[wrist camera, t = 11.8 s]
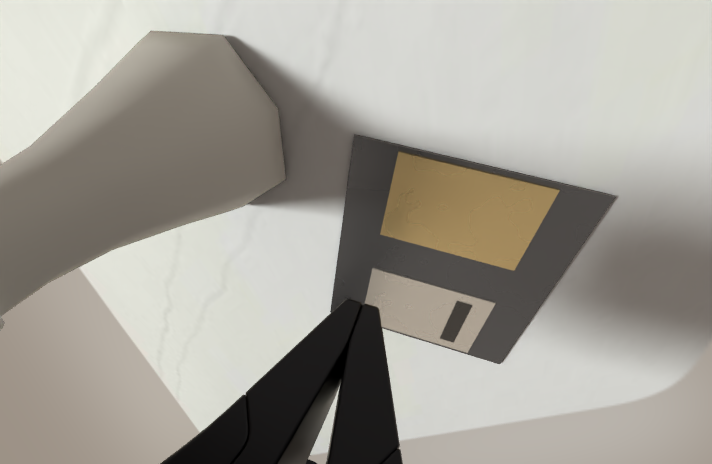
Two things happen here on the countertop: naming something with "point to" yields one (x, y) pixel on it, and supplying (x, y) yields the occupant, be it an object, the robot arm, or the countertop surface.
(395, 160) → the floppy disk
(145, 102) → the flask
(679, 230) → the countertop surface
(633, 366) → the countertop surface
